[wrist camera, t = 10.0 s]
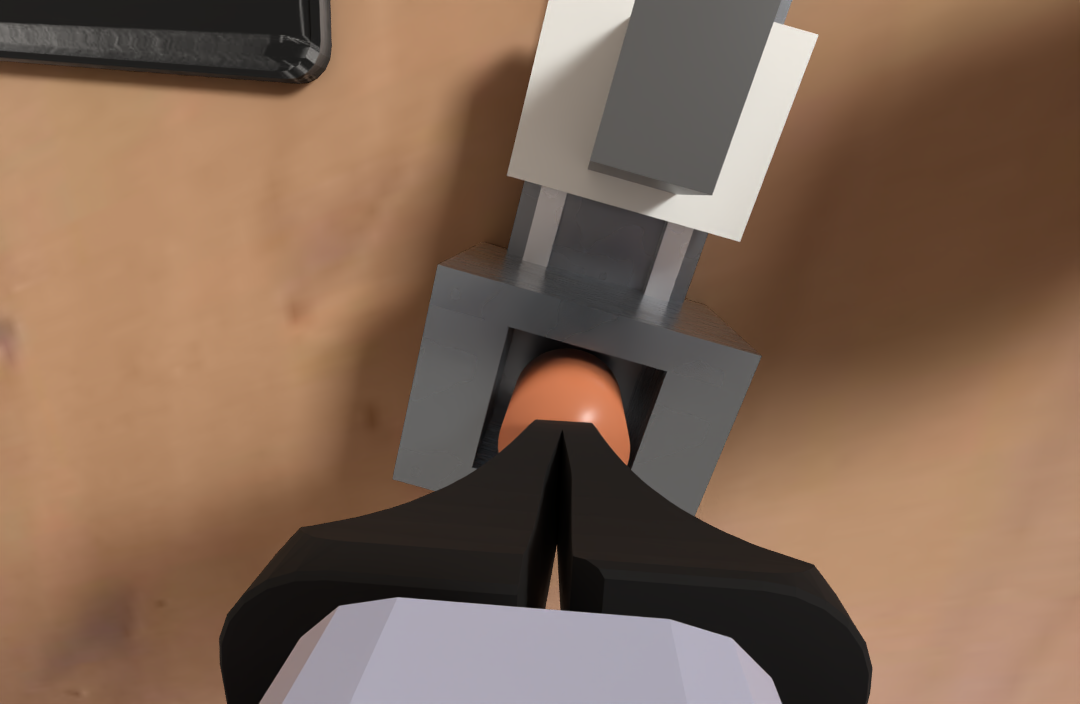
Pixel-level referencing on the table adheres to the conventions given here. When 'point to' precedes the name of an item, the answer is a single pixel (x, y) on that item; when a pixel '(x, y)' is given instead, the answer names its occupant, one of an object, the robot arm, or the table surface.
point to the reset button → (568, 397)
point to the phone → (173, 36)
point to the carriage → (661, 105)
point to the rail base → (578, 341)
